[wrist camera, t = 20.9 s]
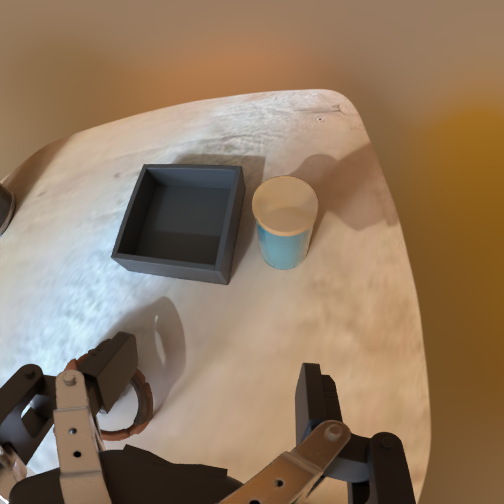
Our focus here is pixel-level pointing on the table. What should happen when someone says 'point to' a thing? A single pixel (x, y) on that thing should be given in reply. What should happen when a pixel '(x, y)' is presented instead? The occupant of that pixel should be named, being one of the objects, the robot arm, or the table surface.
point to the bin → (182, 222)
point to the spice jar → (284, 220)
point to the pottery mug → (143, 400)
